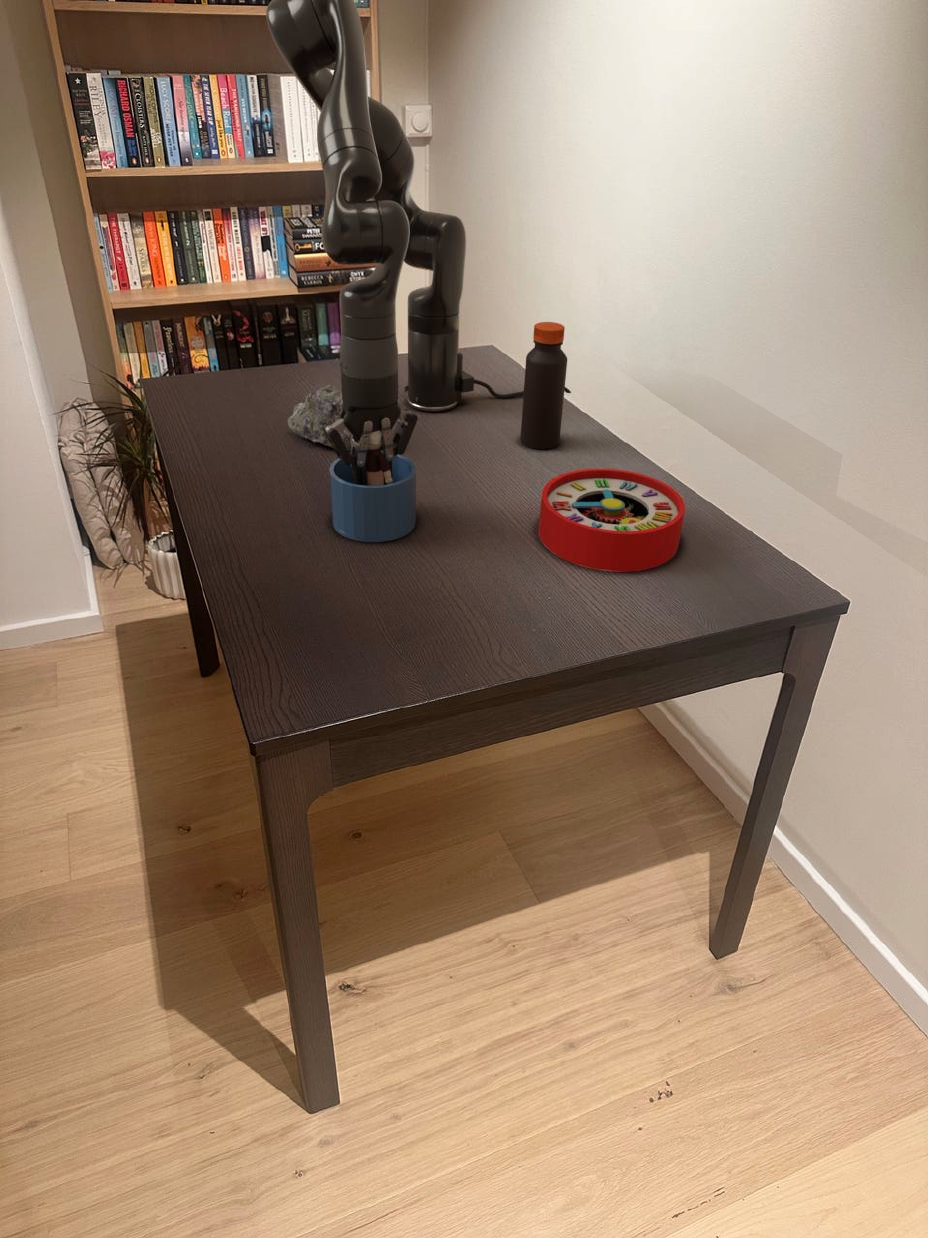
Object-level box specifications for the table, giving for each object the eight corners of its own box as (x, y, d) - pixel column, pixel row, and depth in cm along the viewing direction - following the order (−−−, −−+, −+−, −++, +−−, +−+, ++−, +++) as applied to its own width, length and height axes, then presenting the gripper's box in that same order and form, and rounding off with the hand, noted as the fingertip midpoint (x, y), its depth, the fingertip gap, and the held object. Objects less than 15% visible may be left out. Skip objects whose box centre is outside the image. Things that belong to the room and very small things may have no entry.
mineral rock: (285, 432, 158) (280, 375, 152) (341, 421, 163) (338, 366, 157) (316, 460, 149) (312, 401, 143) (374, 447, 154) (373, 390, 148)
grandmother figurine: (403, 509, 131) (402, 425, 124) (389, 519, 128) (387, 435, 121) (359, 496, 134) (356, 414, 127) (344, 506, 131) (340, 423, 124)
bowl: (392, 496, 139) (391, 444, 134) (430, 530, 130) (431, 476, 126) (319, 513, 134) (316, 460, 129) (354, 550, 125) (351, 494, 120)
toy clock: (703, 533, 120) (553, 534, 118) (695, 571, 123) (549, 572, 122) (664, 468, 136) (532, 468, 135) (658, 503, 140) (529, 503, 138)
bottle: (514, 445, 156) (522, 328, 145) (527, 431, 161) (536, 317, 150) (552, 453, 154) (563, 334, 143) (564, 438, 159) (575, 323, 148)
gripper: (331, 383, 113) (338, 507, 123) (430, 367, 119) (428, 486, 129) (308, 365, 119) (316, 485, 128) (403, 350, 125) (404, 466, 134)
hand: (372, 485), depth 129 cm, fingers closed on grandmother figurine, 3 cm apart
